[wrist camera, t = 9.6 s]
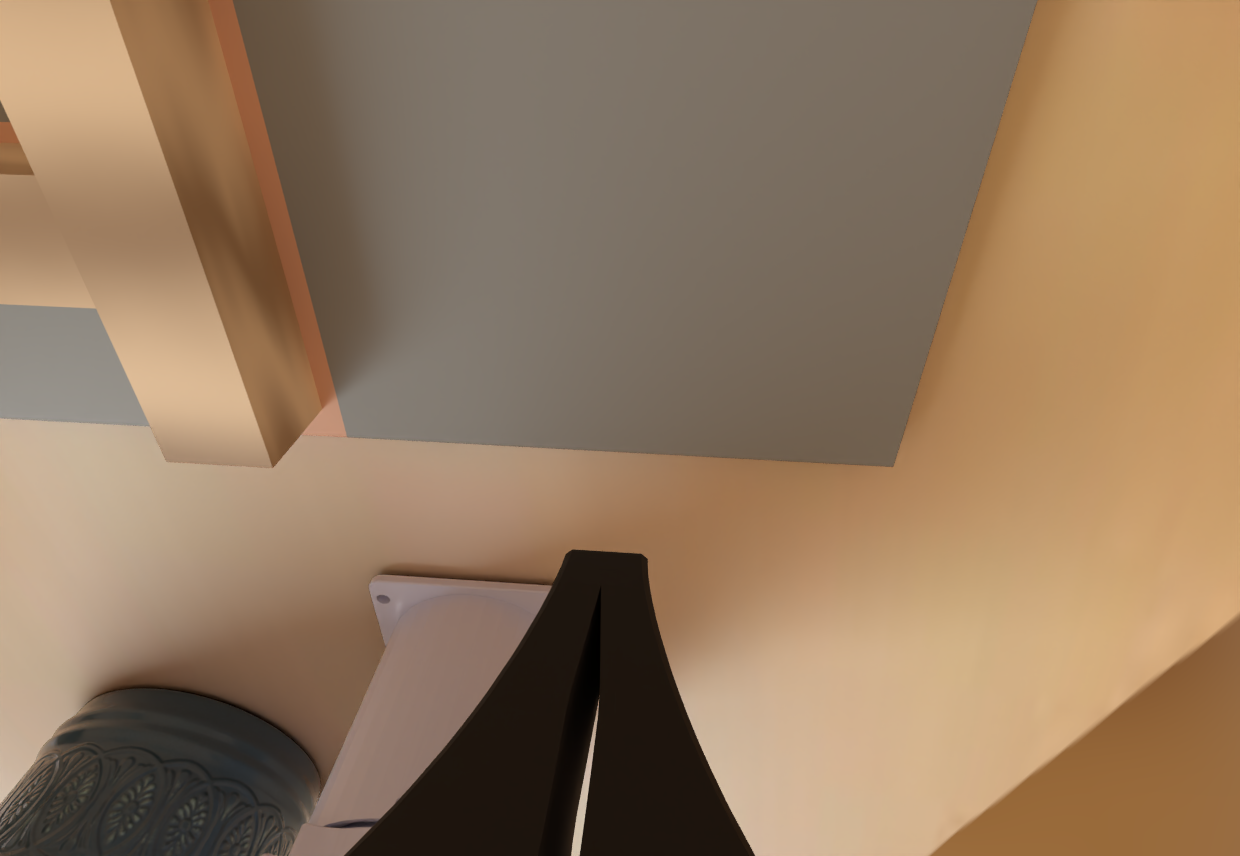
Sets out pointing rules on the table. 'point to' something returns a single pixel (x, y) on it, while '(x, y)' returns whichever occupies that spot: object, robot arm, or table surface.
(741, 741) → the table surface
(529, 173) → the slate board
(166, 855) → the canister
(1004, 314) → the table surface
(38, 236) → the t block
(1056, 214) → the table surface
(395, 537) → the table surface
